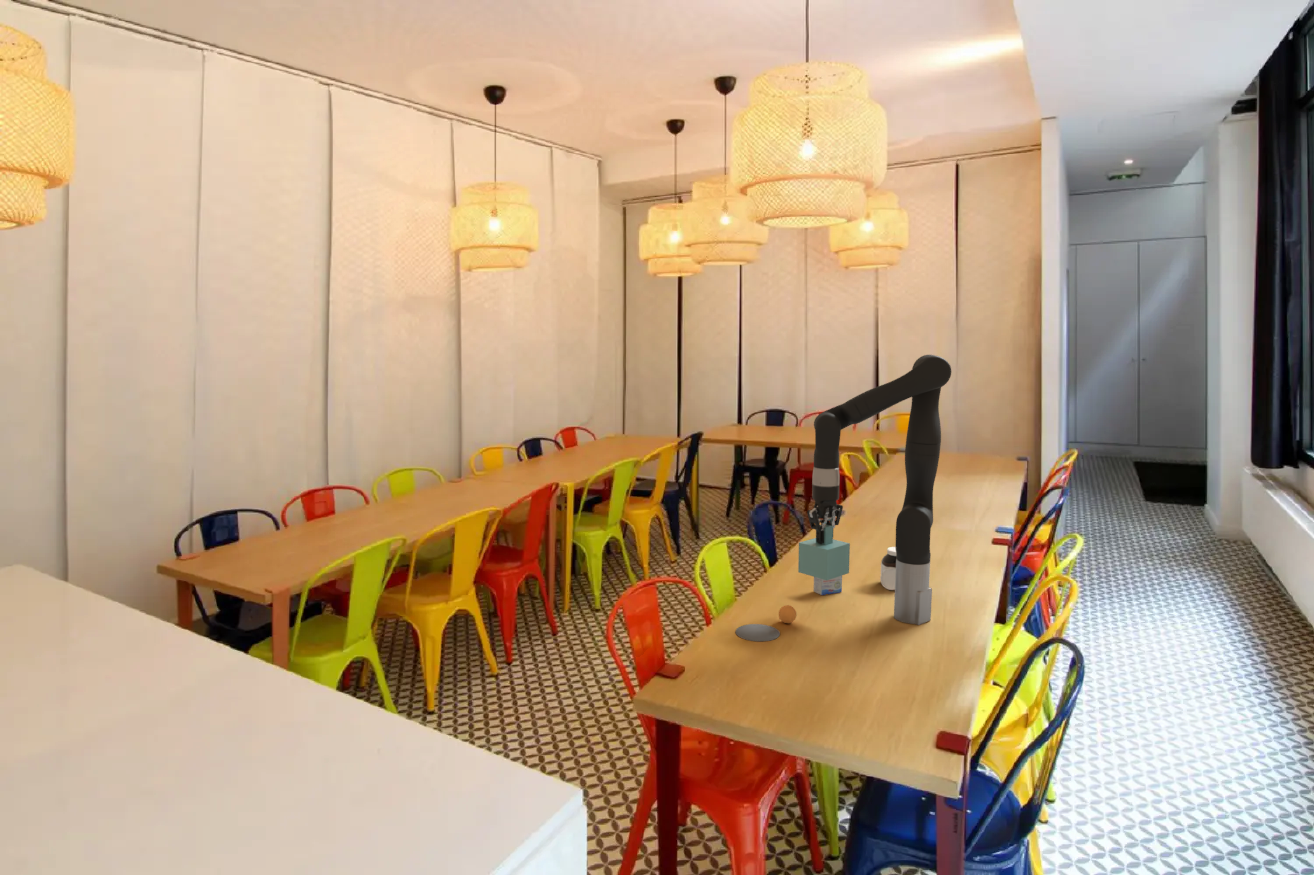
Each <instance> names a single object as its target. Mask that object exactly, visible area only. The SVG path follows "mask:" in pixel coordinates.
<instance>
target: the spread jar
mask: <svg viewBox="0 0 1314 875" xmlns="http://www.w3.org/2000/svg"><path fill="white" fill-rule="evenodd" d="M886 552H887V553H886V554H885V555H884V556H883V557H882V559H881V563H880V576H879V577H880V579H879V580H880V584H881V585H882V587H884V588H885V589H886V590H889V591H895V576H896V548H895V546H891V547H890V546H889V547H887V549H886Z"/></svg>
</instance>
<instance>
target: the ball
mask: <svg viewBox="0 0 1314 875" xmlns="http://www.w3.org/2000/svg"><path fill="white" fill-rule="evenodd" d="M778 618H779V619H780V621H781V622H782V623H784V624H791V623H794V621H796V618H797V611H796V609H795V607H794V606H792V605H789V604H788V605H787V604H785V605H783V606H781V608H779V610H778Z"/></svg>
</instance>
